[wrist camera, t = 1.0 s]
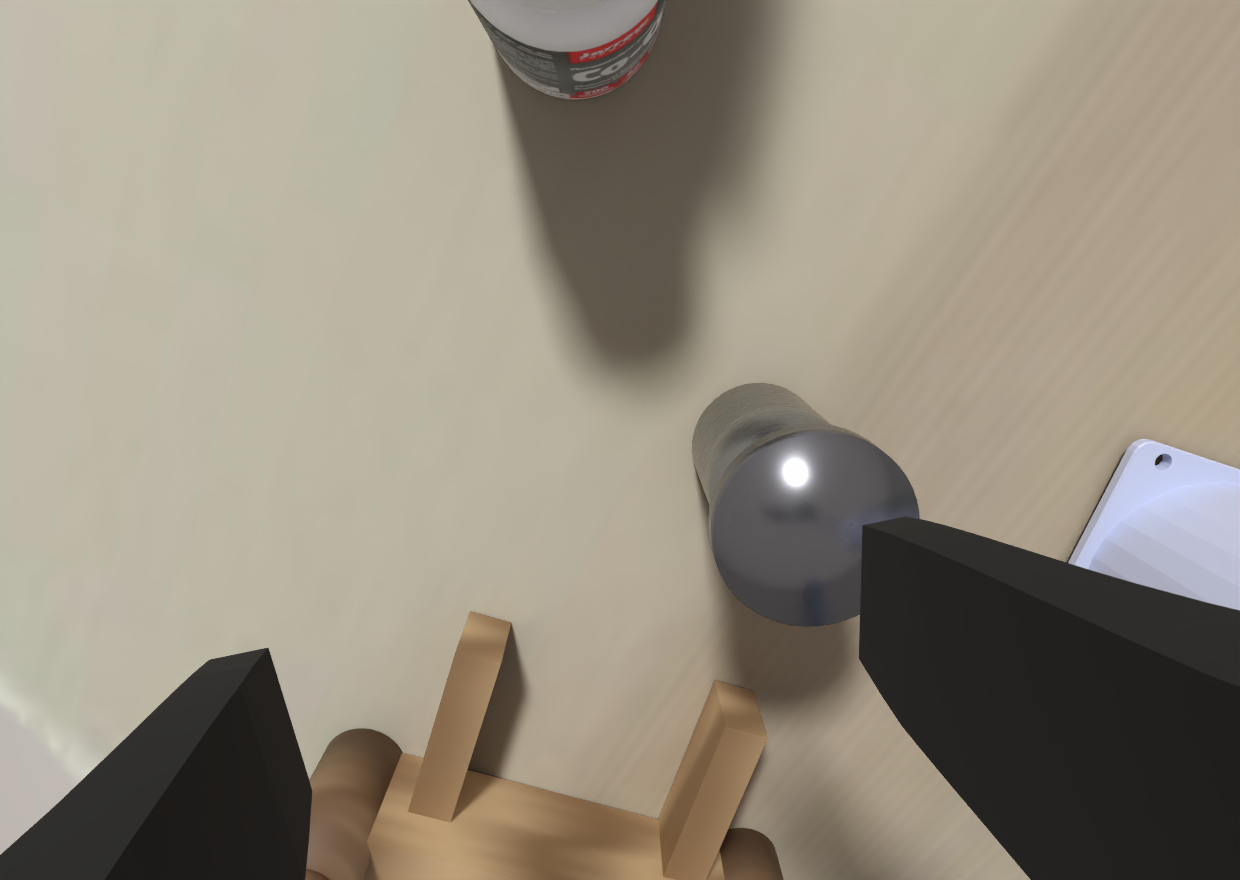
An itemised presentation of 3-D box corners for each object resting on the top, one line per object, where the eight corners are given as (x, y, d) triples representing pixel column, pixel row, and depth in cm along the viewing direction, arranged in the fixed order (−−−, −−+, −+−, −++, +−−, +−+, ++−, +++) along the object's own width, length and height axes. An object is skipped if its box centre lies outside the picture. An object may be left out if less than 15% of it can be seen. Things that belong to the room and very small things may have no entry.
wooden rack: (844, 716, 26) (932, 897, 19) (760, 897, 28) (811, 1122, 21) (369, 582, 25) (271, 726, 17) (316, 785, 27) (210, 987, 19)
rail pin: (852, 399, 23) (953, 469, 16) (796, 532, 24) (871, 649, 18) (711, 353, 23) (756, 405, 16) (662, 491, 24) (684, 594, 17)
